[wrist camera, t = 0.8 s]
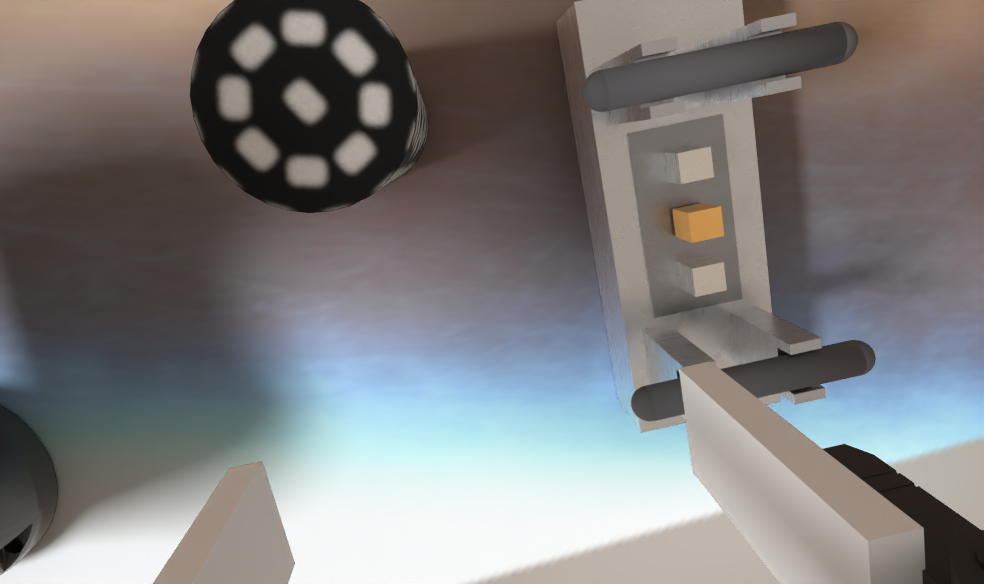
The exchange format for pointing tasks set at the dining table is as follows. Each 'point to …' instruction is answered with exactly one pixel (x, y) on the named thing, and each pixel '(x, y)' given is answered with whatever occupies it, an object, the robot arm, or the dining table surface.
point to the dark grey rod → (719, 66)
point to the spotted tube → (306, 102)
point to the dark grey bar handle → (765, 377)
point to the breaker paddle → (698, 222)
